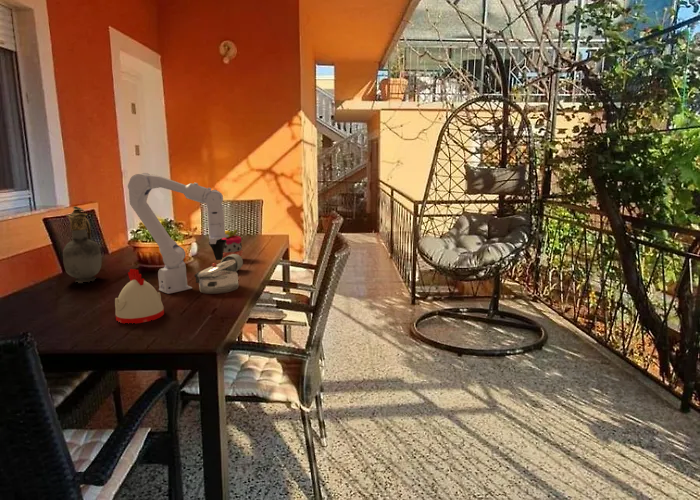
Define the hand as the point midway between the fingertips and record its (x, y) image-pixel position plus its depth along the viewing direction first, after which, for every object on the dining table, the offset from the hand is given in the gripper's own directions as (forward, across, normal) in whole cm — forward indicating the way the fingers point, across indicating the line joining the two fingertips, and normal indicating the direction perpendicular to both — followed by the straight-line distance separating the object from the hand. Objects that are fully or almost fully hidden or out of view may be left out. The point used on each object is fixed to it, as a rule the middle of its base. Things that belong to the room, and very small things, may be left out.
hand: (219, 259), depth 180 cm
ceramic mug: (+11, +23, +2) cm, 26 cm away
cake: (+11, +45, +6) cm, 47 cm away
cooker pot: (+10, -2, 0) cm, 11 cm away
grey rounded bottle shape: (+10, +15, +58) cm, 61 cm away
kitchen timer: (+11, -32, +18) cm, 38 cm away
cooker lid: (+3, -2, +1) cm, 4 cm away
